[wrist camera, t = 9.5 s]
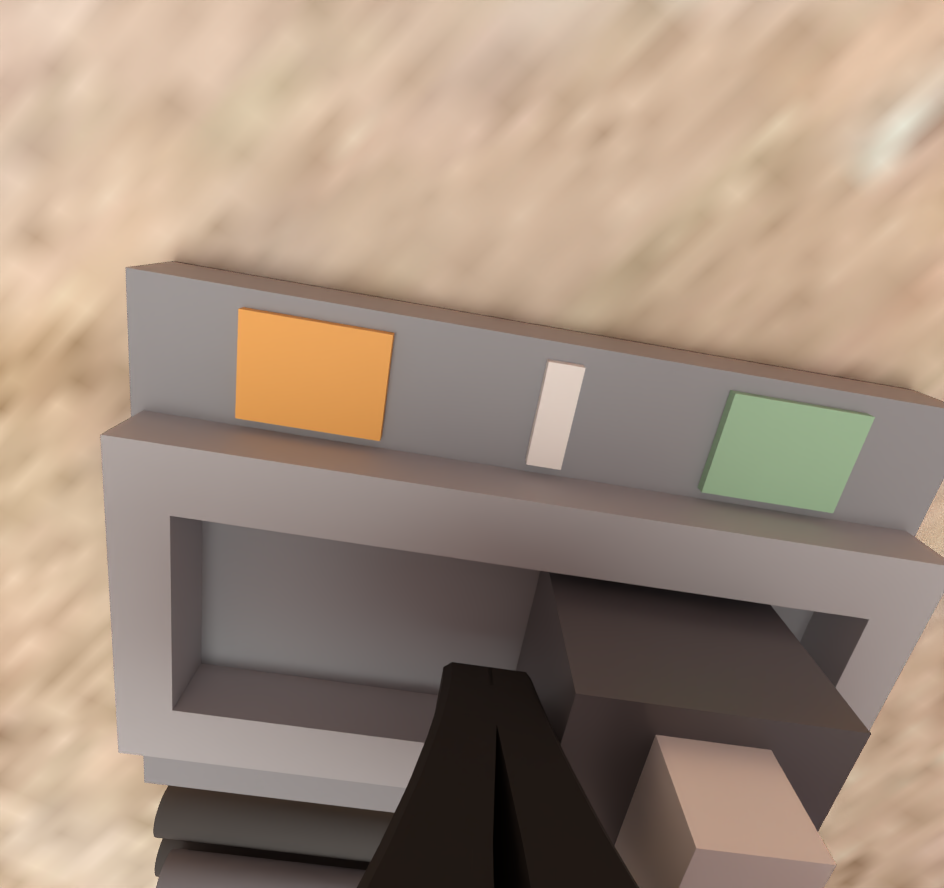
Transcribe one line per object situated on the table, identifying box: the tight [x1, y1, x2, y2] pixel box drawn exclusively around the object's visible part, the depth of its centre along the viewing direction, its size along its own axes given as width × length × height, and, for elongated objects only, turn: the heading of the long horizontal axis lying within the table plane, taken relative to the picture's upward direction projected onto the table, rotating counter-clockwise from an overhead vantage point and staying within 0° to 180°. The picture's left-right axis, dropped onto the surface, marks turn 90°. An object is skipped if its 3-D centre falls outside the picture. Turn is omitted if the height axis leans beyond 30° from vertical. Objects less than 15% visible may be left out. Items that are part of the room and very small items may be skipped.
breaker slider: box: [516, 571, 871, 888], centre depth 9 cm, size 4×3×5 cm
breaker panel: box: [100, 261, 944, 813], centre depth 11 cm, size 14×11×3 cm
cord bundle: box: [153, 785, 394, 888], centre depth 15 cm, size 14×3×2 cm, turn 80°
